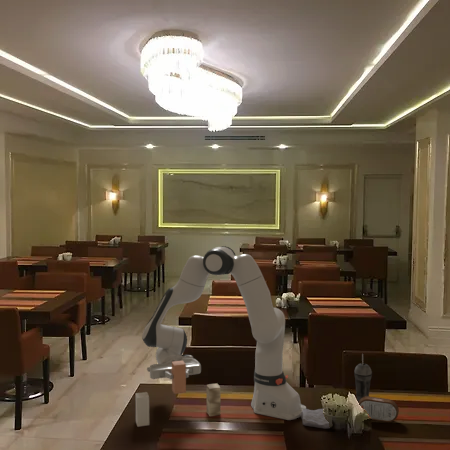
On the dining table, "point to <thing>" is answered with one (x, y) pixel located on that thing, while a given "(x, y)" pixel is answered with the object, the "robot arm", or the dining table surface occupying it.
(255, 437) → the dining table surface
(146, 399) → the white block
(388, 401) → the tin
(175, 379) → the terracotta block
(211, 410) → the birch block
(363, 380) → the beverage cup
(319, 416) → the stone block
